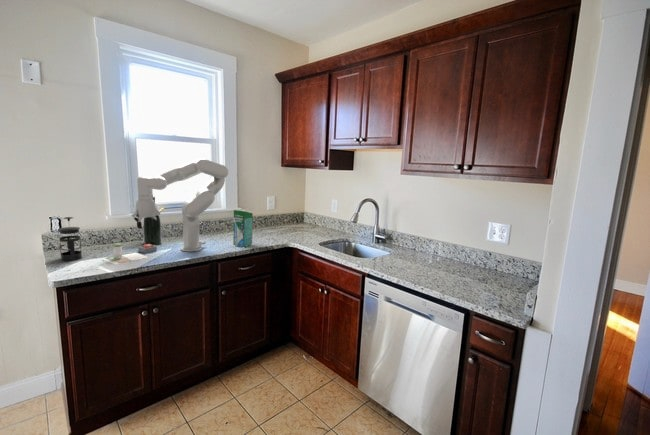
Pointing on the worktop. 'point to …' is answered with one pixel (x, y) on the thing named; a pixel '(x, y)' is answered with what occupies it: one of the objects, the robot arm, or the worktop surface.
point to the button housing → (147, 249)
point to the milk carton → (242, 228)
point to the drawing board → (125, 258)
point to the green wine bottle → (152, 231)
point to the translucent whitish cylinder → (117, 250)
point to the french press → (70, 243)
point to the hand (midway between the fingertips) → (146, 227)
